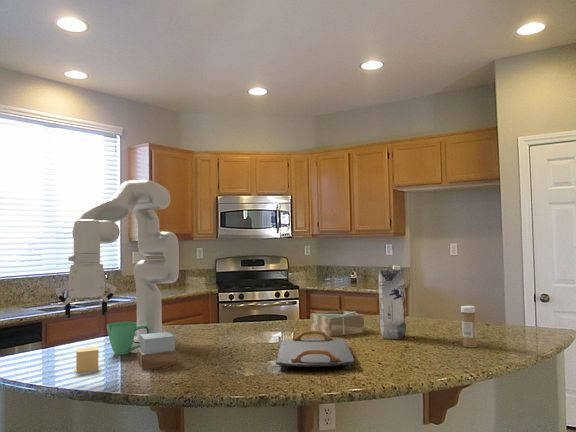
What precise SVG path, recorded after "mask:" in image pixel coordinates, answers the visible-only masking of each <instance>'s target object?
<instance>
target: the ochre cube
mask: <svg viewBox="0 0 576 432" xmlns="http://www.w3.org/2000/svg"><path fill="white" fill-rule="evenodd" d="M75 349H76V351H75V352H76V353H75V354H76V358H75V360H76V361H75V362H76V363H75V364H76V366H75V367H76V368H75V369H76V370H77V371H76V373H77V372H78V373H85V371H86V372H93V371H99V348H98V346H87V347H81V348H80V347H79V348H78V347H77V348H75Z"/></svg>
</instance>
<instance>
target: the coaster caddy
mask: <svg viewBox="0 0 576 432" xmlns="http://www.w3.org/2000/svg"><path fill="white" fill-rule="evenodd" d="M350 312H351V311H348V310H333V311H324V312H315V313H314V312H313V313H309V316H310V321H309V322H310V331H314V330H315V331H317V316H318V331H322V332H324V333H325V334H326V335H328V336H329V337H338V336H346V335H347V336H348V335H355V334H363V333H365V315H364V314H362V313H357V312H356V313H354V315H353V316H345V317H333V318H329V317H325V316H319V315H317V314H336V315H343V314H347V313H350ZM343 318H344V333H345V334H343Z"/></svg>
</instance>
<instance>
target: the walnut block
mask: <svg viewBox="0 0 576 432" xmlns="http://www.w3.org/2000/svg"><path fill="white" fill-rule="evenodd" d="M176 353H177V352H176V350H175V351H168V352H160V353H152V354H144V353H143V352H142V351H141V350H140V348H137V364H138V365H139V366H140V368H141V370H144V369H145V370H146V369H147V370H148V369H152V368H160V367H169V366H176V363H177V361H176V358H177V355H176Z"/></svg>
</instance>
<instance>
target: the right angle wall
mask: <svg viewBox="0 0 576 432" xmlns="http://www.w3.org/2000/svg"><path fill="white" fill-rule="evenodd" d="M349 312H350V313H347V314H343V315H336V314H317V315H319V316H325V317H329V318H333V317H345V316H353V315H354V313H357V311H349ZM317 331H318V316H317ZM343 334H345V333H344V318H343Z"/></svg>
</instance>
